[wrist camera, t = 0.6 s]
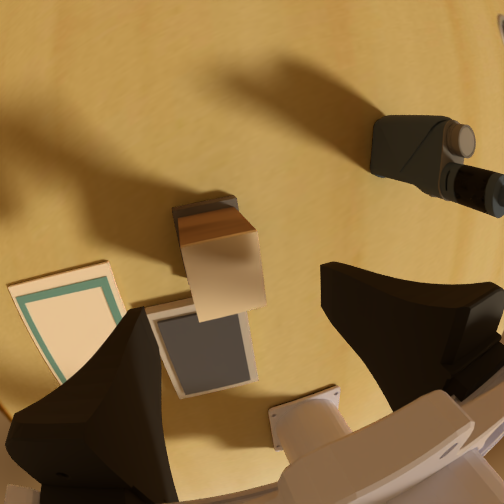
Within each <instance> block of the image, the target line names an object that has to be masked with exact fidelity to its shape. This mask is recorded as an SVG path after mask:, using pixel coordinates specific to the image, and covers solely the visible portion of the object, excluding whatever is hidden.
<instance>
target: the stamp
mask: <svg viewBox="0 0 504 504" xmlns="http://www.w3.org/2000/svg"><path fill="white" fill-rule="evenodd" d="M172 213H173V218H174V223H175V228H176V232H177V237H178V241H179V246H180V250H181V254H182V259H183V263H184V267H185V271H186V275H187V279H188V283H189V285H190V289H191V293H192V297H193V301H194V305H195V309H196V312H197V316H198V320H199V322H204V321H208V320H212V319H217V318H221V317H225V316H229V315H233V314H237V313H241V312H245V311H249V310H253V309H257V308H261V307H265V306H267V302H266V294H265V286H264V278H263V270H262V262H261V254H260V246H259V238H258V231H257V230H256V229H255V228H254V227H253V226H252V225H251V224H250V223H249V222H248V221H247V220H246V219H245V218H244V217H243V216H242V214H241V213H240V212H239V210H238V203H237V198H236V197H235V196H234V195H233V196H227V197H222V198H217V199H212V200H207V201H202V202H197V203H192V204H187V205H183V206H178V207H173V208H172Z"/></svg>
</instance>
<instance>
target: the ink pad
mask: <svg viewBox="0 0 504 504" xmlns="http://www.w3.org/2000/svg"><path fill="white" fill-rule="evenodd" d="M145 311H146V314H147V317H148V320H149V322H150V325H151V328H152V330H153V333H154V336H155V338H156V341H157V343H158V346H159V351H160V356H161V358H162V360H163V363H164V365H165V368H166V370H167V372H168V375H169V377H170V379H171V381H172V384H173V386H174V388H175V390H176V392H177V395H178V397H179V399H184V398H189V397H194V396H198V395H203V394H208V393H212V392H216V391H221V390H225V389H229V388H233V387H237V386H241V385H245V384H248V383H252V382H256V381H259V379H258V374H257V368H256V362H255V356H254V351H253V345H252V339H251V333H250V327H249V321H248V315H247V311H245V312H241V313H237V314H233V315H229V316H225V317H221V318H217V319H212V320H208V321H204V322H199V320H198V316H197V312H196V309H195V305H194V301H193V297H192V298H187V299H183V300H178V301H174V302H169V303H164V304H160V305H155V306H150V307H146V308H145Z"/></svg>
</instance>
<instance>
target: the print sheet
mask: <svg viewBox="0 0 504 504" xmlns="http://www.w3.org/2000/svg"><path fill="white" fill-rule="evenodd" d="M8 289H9V291H10V293H11V296H12V298H13V300H14V302H15V305H16V307H17V309H18V311H19V313H20V315H21V317H22V319H23V321H24V323H25V325H26V327H27V329H28V331H29V333H30V335H31V337H32V339H33V340H34V342H35V344H36V346H37V348H38V349H39V351H40V353H41V355H42V356H43V358H44V360H45V361H46V363H47V365H48V366H49V368H50V369H51V371H52V373H53V374H54V376H55V377H56V379H57V380H58V382H59V383H60V385H62V384H63V383H64V382H66V381H67V380H68V379H69V378H70V377H72V376H73V375H74V374H75V373H76V372H77V371H78V370H80V369H81V368H82V367H83V366H84V365H85V364H86V363H87V362H88V360H89V359H90V358H91V357H92V356H93V355H94V354H95V353H96V351H97V350H98V349H99V348H100V347H101V345H102V344H103V343H104V342H105V341H106V339H107V338H108V337H109V335H110V334H111V333H112V331H113V330H114V329H115V327H116V326H117V325H118V323H119V322H120V321H121V319H122V318H123V317H124V315H125V314H126V313H127V312H126V309H125V307H124V304H123V301H122V298H121V296H120V293H119V290H118V287H117V284H116V281H115V279H114V276H113V273H112V270H111V266H110V263H109V261H107V262H103V263H98V264H94V265H90V266H86V267H82V268H78V269H74V270H69V271H65V272H61V273H57V274H53V275H49V276H45V277H41V278H37V279H34V280H30V281H26V282H22V283H18V284H14V285H10V286H9V287H8Z"/></svg>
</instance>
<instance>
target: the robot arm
mask: <svg viewBox="0 0 504 504" xmlns="http://www.w3.org/2000/svg"><path fill="white" fill-rule="evenodd" d="M320 274H321V307H322V309H323V311H324V312H325V314H326V316H327V317H328V319H329V320H330V322H331V324H332V325H333V326H334V327H335V328H336V330H337V331H338V332H339V333H340V334H341V336H342V337H343V338H344V339H345V340H346V342H347V343H348V344H349V345H350V346H351V347H352V349H353V350H354V351H355V352H356V353H357V354H358V356H359V357H360V358H361V359H362V361H363V362H364V363H365V365H366V366H367V368H368V369H369V371H370V372H371V374H372V375H373V377H374V379H375V380H376V382H377V384H378V385H379V387H380V389H381V390H382V392H383V394H384V395H385V397H386V399H387V401H388V403H389V405H390V407H391V409H392V411H393V413H391V414H389V415H387V416H385V417H383V418H381V419H379V420H378V421H376V422H373V423H371V424H369V425H367V426H365V427H363V428H361V429H359V430H357V431H354V432H352V430H351V429H350V427H349V426H348V424H347V423H346V421H345V420H344V418H343V416H342V415H341V413H340V412H339V410H338V405H339V397H340V387H339V386H334V387H331V388H328V389H326V390H323V391H320V392H318V393H315V394H312V395H309V396H306V397H304V398H301V399H298V400H295V401H292V402H288V403H285V404H282V405H279V406H276V407H272V408H270V409H269V410H268V414H269V420H270V426H271V432H272V438H273V444H274V449H275V451H281V450H284V452H285V454H286V457H287V459H288V461H289V463H290V465H289V466H287V467H286V468H285V469H284V471H283V472H282V474H281V477H280V479H279V481H278V482H274V483H271V484H268V485H264V486H260V487H256V488H252V489H248V490H244V491H240V492H236V493H231V494H226V495H221V496H216V497H210V498H204V499H198V500H191V501H183V502H179V500H178V496H177V493H176V489H175V486H174V482H173V478H172V474H171V470H170V466H169V461H168V456H167V451H166V446H165V440H164V433H163V427H162V416H161V360H160V351H159V346H158V343H157V341H156V338H155V336H154V333H153V330H152V328H151V325H150V322H149V320H148V317H147V314H146V311H145V308H144V306H143V307H138V308H134V309H129V310H128V311H127V313H126V314H125V315H124V317H123V318H122V319H121V321H120V322H119V323H118V325H117V326H116V327H115V329H114V330H113V331H112V333H111V334H110V335H109V337H108V338H107V339H106V341H105V342H104V343H103V344H102V345H101V347H100V348H99V349H98V350H97V351H96V353H95V354H94V355H93V356H92V357H91V358H90V359H89V360H88V362H87V363H86V364H85V365H84V366H83V367H82V368H81V369H80V370H78V371H77V372H76V373H75V374H74V375H73V376H72V377H70V378H69V379H68V380H67V381H66V382H64V383H63V384H62V385H61V386H60V387H58V388H57V389H56V390H54V391H53V392H51V393H50V394H48V395H47V396H45V397H44V398H42V399H41V400H39V401H37V402H36V403H34V404H32V405H30V406H28V407H27V408H25V409H23V410H21V411H19V412H17V413H15V414H14V417H13V420H12V423H11V426H10V429H9V433H8V436H7V439H6V443H5V446H6V450H7V452H8V453H9V455H10V456H11V458H12V459H13V460H14V461H15V462H16V463H17V464H18V465H19V466H20V467H21V468H22V469H24V470H25V471H26V472H27V473H28V474H29V475H31V476H32V477H33V478H35V479H36V480H37V481H38V482H39V483H41V484H42V486H41V492H39V491H37V490H35V489H32V488H27V487H22V486H17V485H12V484H8V485H7V490H6V496H5V503H4V504H504V481H503V480H502V478H501V477H500V476H499V475H498V474H497V472H495V470H494V469H493V468H492V467H491V466H490V465H489V463H488V462H487V461H486V460H485V459H484V458H483V456H484V455H485V454H487V453H488V451H490V450H491V448H493V446H494V445H495V444H496V443H497V442H498V441H499V440H500V439H501V438H502V437H503V436H504V345H503V344H502V343H500V342H499V341H500V340H501V335H500V334H498V333H497V332H496V331H497V328H498V325H499V322H500V319H501V317H502V314H503V310H504V289H503V288H501V287H499V286H498V285H496V284H494V283H492V282H483V283H474V284H456V285H448V284H430V283H420V282H414V281H408V280H402V279H397V278H393V277H389V276H385V275H381V274H378V273H374V272H371V271H367V270H364V269H361V268H357V267H354V266H351V265H347V264H343V263H339V262H329V263H325V264H322V265H320Z"/></svg>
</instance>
